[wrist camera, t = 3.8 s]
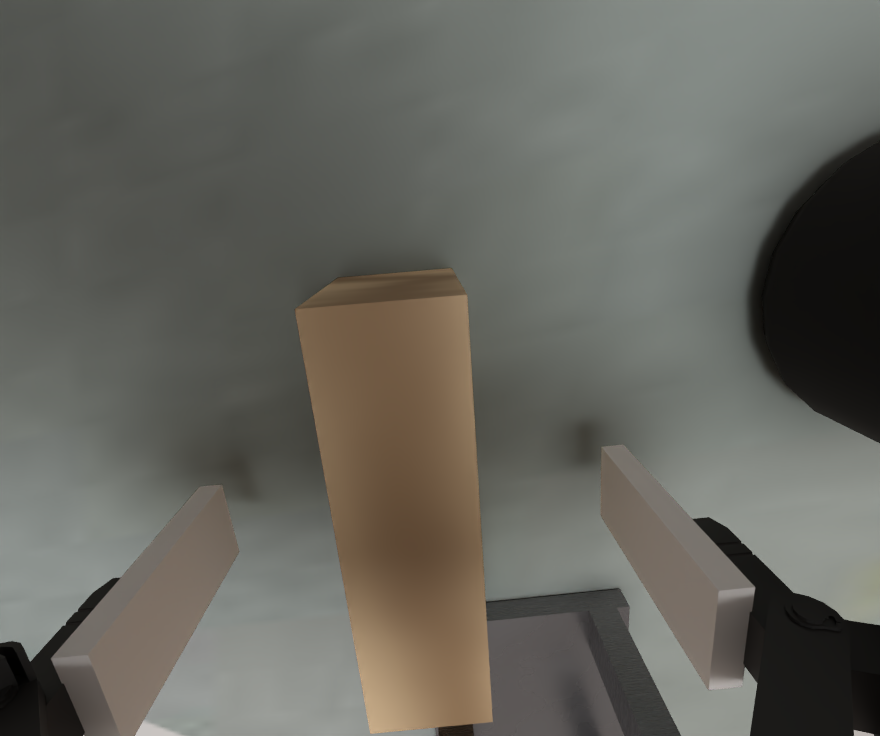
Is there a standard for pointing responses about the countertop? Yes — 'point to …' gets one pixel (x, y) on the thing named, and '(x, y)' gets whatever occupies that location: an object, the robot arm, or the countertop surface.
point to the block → (403, 490)
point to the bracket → (567, 671)
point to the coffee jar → (831, 298)
